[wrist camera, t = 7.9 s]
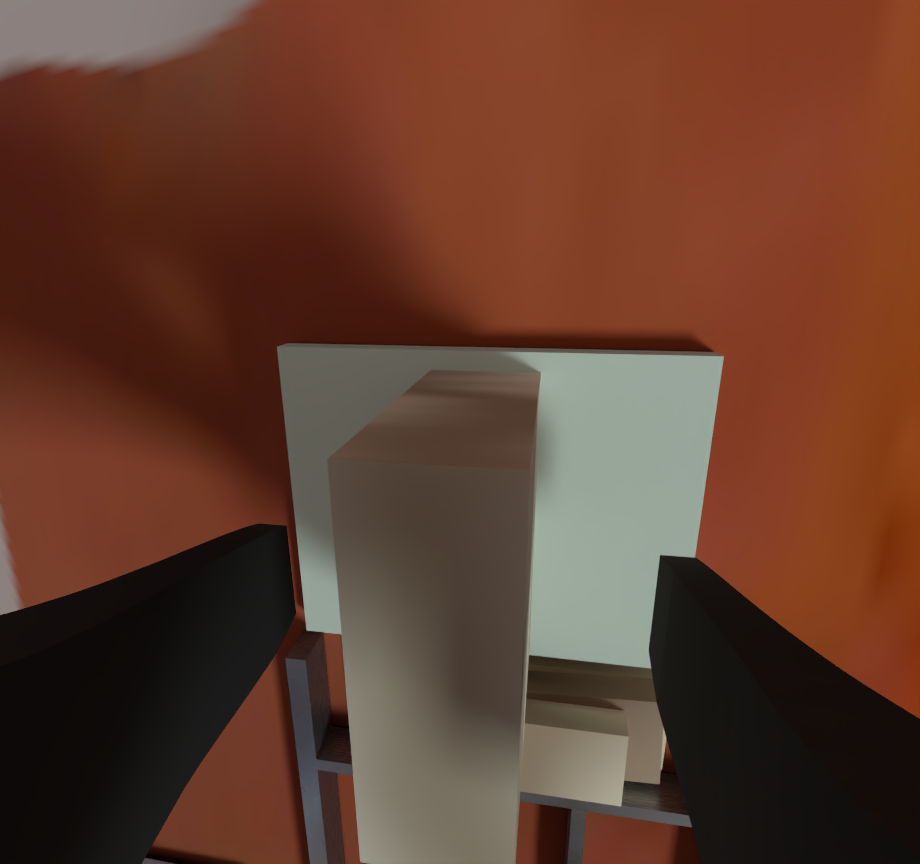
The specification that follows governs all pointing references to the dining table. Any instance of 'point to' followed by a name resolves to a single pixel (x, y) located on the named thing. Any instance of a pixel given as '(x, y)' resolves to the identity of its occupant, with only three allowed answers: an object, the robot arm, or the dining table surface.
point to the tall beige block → (438, 614)
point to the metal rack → (331, 754)
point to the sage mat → (558, 474)
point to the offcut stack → (589, 730)
